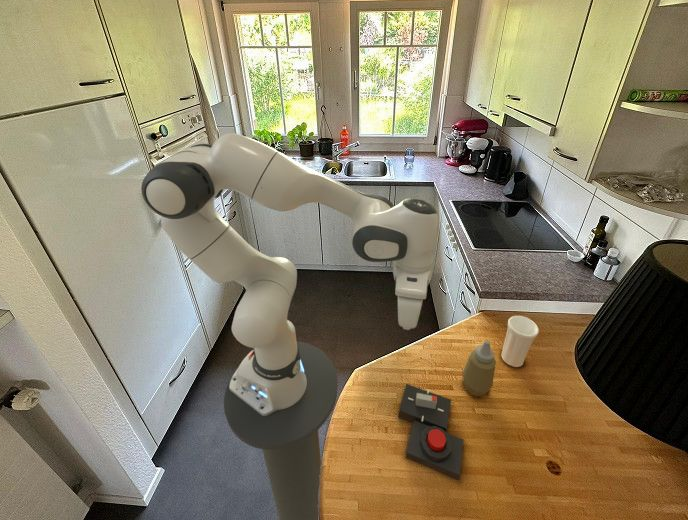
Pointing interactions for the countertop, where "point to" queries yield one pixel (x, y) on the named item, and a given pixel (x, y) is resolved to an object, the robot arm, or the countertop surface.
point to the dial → (426, 401)
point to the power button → (436, 440)
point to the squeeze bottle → (479, 370)
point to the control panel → (424, 408)
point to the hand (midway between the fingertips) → (407, 313)
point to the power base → (439, 461)
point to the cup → (518, 340)
